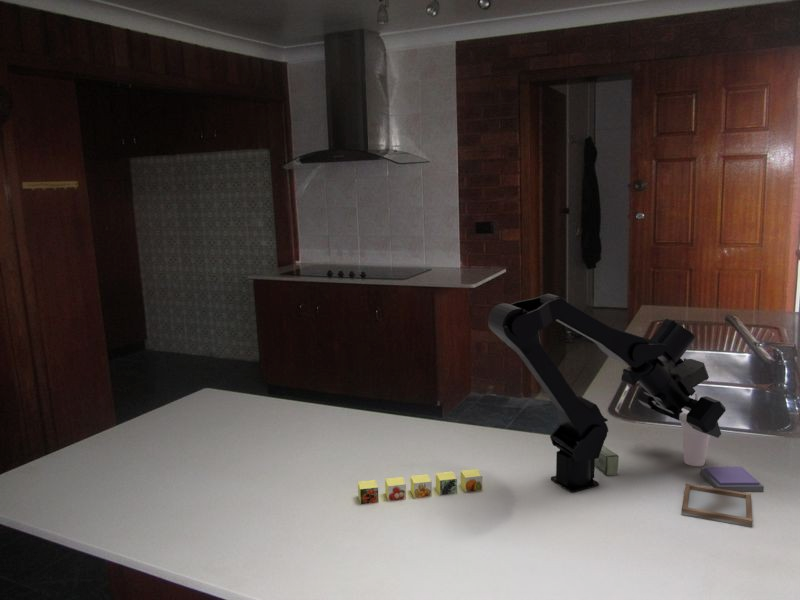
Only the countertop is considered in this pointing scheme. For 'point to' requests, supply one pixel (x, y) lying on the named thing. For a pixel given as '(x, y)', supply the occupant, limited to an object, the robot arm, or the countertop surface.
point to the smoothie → (693, 442)
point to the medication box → (607, 462)
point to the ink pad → (731, 479)
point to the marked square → (717, 504)
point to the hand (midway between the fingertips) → (701, 427)
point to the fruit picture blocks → (420, 486)
